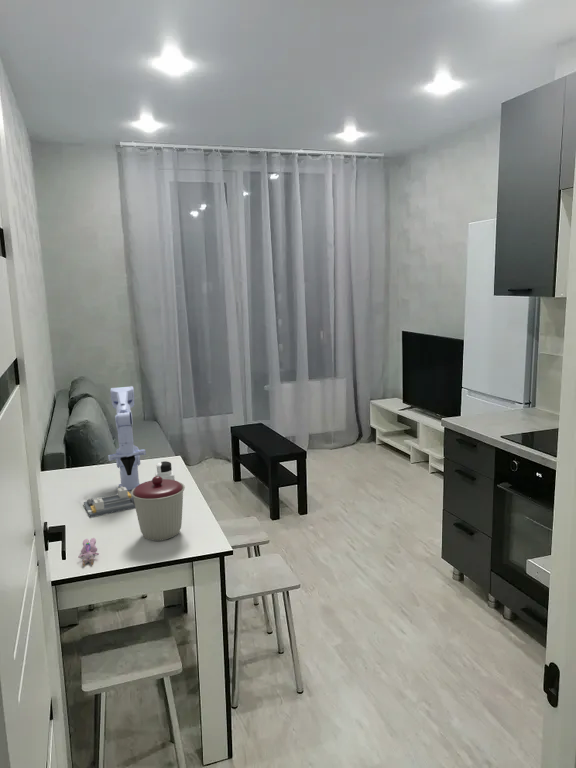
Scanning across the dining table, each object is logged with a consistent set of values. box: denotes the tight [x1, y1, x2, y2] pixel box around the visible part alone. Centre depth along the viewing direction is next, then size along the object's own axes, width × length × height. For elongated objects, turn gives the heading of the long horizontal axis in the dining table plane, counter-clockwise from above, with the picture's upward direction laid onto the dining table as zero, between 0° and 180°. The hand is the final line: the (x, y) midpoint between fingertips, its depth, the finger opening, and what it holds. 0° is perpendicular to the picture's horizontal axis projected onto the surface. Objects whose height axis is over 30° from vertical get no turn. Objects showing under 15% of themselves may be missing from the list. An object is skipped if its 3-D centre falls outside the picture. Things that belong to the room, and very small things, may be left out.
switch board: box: [83, 491, 136, 518], centre depth 232 cm, size 15×20×2 cm
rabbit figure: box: [77, 537, 100, 567], centre depth 189 cm, size 6×6×15 cm
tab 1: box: [94, 497, 104, 510], centre depth 226 cm, size 4×3×4 cm
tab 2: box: [117, 486, 129, 498], centre depth 238 cm, size 4×3×4 cm
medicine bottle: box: [154, 460, 176, 481], centre depth 247 cm, size 7×7×12 cm
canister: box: [130, 475, 186, 541], centre depth 202 cm, size 18×18×21 cm
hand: (129, 474), depth 237 cm, fingers closed
